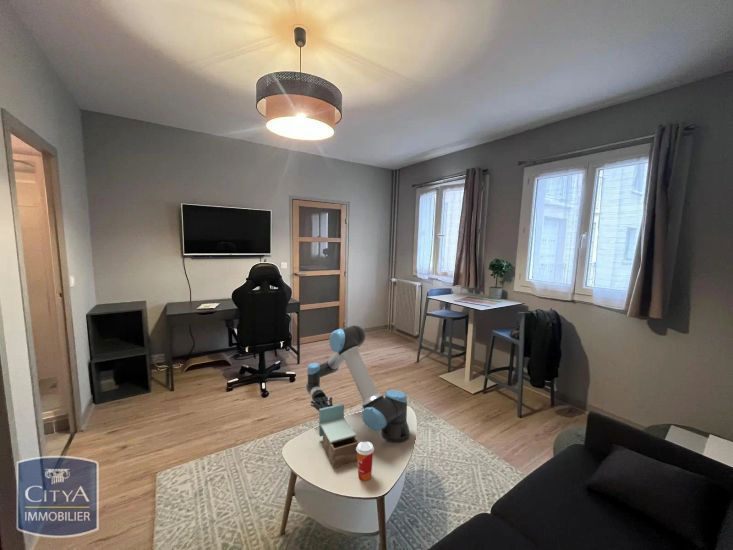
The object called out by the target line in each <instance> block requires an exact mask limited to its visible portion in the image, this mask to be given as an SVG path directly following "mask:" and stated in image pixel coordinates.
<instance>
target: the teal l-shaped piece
mask: <svg viewBox="0 0 733 550" xmlns="http://www.w3.org/2000/svg"><path fill="white" fill-rule="evenodd" d="M318 413H319V414H318V417H319V418H318V430H319V431H318V435H319V437H323V431H324V433H325V435H326V437H327V438H328V440H329V442H330V443H333V442H337V441H340V440H344V439H348V438H351V437H355V436H356V437H357V434H356V432H355V431H354V430H353V428H352V426H351V425H350V424H349V423H348V421H347V420H346V418H345V417H344V416H345V414H344V413H345V405H344V404H343V403H340V404H335V405H333V406H330V407H325V408H321V409H319V411H318Z"/></svg>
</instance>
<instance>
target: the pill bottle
mask: <svg viewBox="0 0 733 550" xmlns="http://www.w3.org/2000/svg"><path fill="white" fill-rule="evenodd" d="M359 442H360V443H359V444H358V445H357V448H356V450H357V460H358V461H357V475H358V479H359V480H361V481H362V482H368V481H370V479H371V478H372V473H373V472H372V471H373V456H374V451H375V447H374V445H373V443H372V442H370V441H359Z"/></svg>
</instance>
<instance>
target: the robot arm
mask: <svg viewBox="0 0 733 550" xmlns="http://www.w3.org/2000/svg"><path fill="white" fill-rule="evenodd" d="M365 341H366V333H365V330H364V328H362V327H361V326H358V325H350V326H347V327H342V328H338V329H336V330H333V331H332V332H331V334H330V336H329V346H330V347H329V348H330V349H331V350H332V352H334V353H333V354H332V356H331V357H330V358H329V359H328V360H327V361H326V362H324V363H321V364H319V363H318V362H313V363H312V362H311V363H309V364H308V365H307V383H306V384H305V388H306V389H305V390H306V391H307V393H308V395H309V396H310V398H311V399H312V400H311V401H310V406H311V407H312V408H315V410H316V411H318V412H319V409H321V408H326V407H330V406H334V405H333V397H332V396H331V397H328V396H327V395H326V393H325V392H324V390H323V388H322V387H321V386H320V385H321V383H320V381H321V378H323V377H325V376H328V375H330V374H333V373H336V372H337V371H339V368H340V366H341V364H342V363H343V362H345V364H346V366H347V368H348V370H349V372H350V375H351V377H352V379H353V381H354V384H355V385H356V387H357V390H358V392H359V395H360V397H361V399H362V406H361V407H362V408H363V410H362V414H361V416H362V420H363V422H364V424H365V425H366V427H368V429H371V430H372V431H380V430H381V431H380V432H381V437H382V438H383V439H385V441H387V442H391V443H397V444H399V443H403V442H406V441H407V440H409V438H410V432H411V431H410V427H409V424H408V420H407V416H408V414H407V413H408V396H407V394H406V393H405V392H404V391H401V390H398V389H388V390H386V391H385V393H384V394H381V393H379V392H378V389H377V388H376V384H375V383H374V382H373V379H372V377H371V375H370V373H369V371H368V369H367V367H366V364H365V363H364V360H363V358H362V356H361V355H360V352H359V348H360V347H361V346H362V345H363V344H364V343H365Z"/></svg>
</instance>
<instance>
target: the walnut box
mask: <svg viewBox="0 0 733 550" xmlns="http://www.w3.org/2000/svg"><path fill="white" fill-rule="evenodd" d="M360 442H361V441H360V440H359V438H357V435H356V436H355V437H351V438H348V439H344V440H340V441H337V442H333V443H330V442H329V440H328V438H327V437H326V435H325V433H324V431H323V436H322V448H323V449H322V450H323V451H324V453H325V455H326V457H327V458H328V461H329V462H330V464H331V466H332V468H333V469H337V468H341V467H343V466H347V465H350V464H354V463H356V462H357V463H358V460H357V450H356V448H357V445H358V444H359V443H360Z"/></svg>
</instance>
